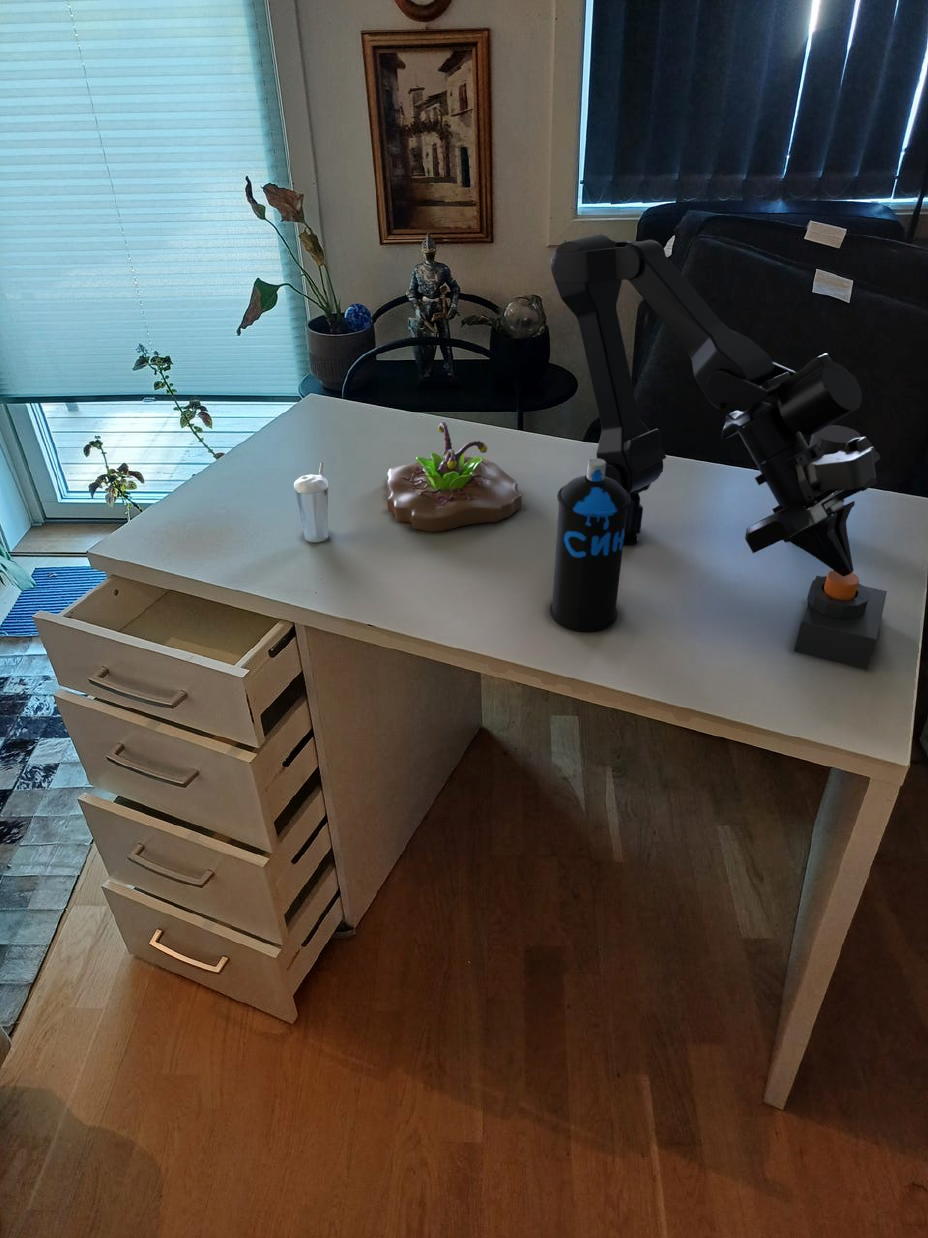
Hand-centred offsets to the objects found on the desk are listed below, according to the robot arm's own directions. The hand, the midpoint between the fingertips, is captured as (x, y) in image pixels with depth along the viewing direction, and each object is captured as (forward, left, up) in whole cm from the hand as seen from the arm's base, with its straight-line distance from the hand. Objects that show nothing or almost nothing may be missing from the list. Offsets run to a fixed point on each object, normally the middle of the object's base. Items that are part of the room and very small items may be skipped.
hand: (848, 574), depth 101 cm
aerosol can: (-29, +4, -9) cm, 30 cm away
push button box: (+1, 0, -8) cm, 8 cm away
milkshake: (-64, +23, -9) cm, 68 cm away
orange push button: (0, 0, -3) cm, 3 cm away
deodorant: (+5, +24, -9) cm, 26 cm away
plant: (-46, +35, -9) cm, 58 cm away
